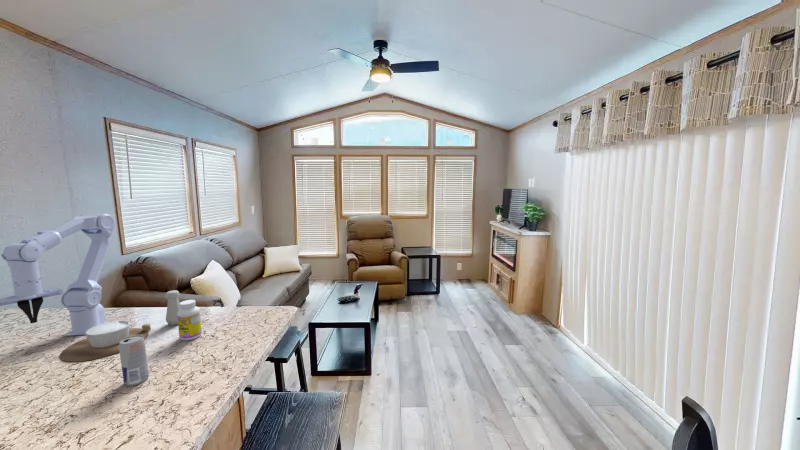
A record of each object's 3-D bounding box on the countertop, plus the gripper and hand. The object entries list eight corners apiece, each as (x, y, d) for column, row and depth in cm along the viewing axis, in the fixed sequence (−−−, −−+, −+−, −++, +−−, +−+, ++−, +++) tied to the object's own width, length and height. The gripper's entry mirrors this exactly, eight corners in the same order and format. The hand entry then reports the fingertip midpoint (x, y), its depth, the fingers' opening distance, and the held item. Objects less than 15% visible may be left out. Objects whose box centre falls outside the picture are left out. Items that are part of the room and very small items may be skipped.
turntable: (94, 331, 117) (93, 325, 117) (161, 326, 121) (160, 320, 121) (38, 365, 96) (37, 358, 96) (121, 357, 100) (120, 350, 99)
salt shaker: (175, 327, 120) (171, 294, 119) (162, 326, 121) (158, 293, 120) (188, 320, 126) (184, 289, 124) (176, 319, 127) (172, 288, 125)
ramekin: (139, 336, 112) (137, 322, 112) (101, 352, 102) (99, 337, 101) (118, 332, 116) (116, 318, 115) (79, 347, 106) (77, 331, 105)
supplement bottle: (175, 339, 111) (171, 304, 109) (193, 331, 117) (190, 297, 115) (188, 342, 109) (184, 306, 107) (206, 334, 115) (203, 299, 113)
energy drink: (133, 375, 90) (128, 335, 89) (153, 374, 91) (148, 334, 89) (118, 387, 85) (112, 344, 84) (140, 385, 86) (134, 343, 84)
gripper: (-11, 289, 92) (-3, 333, 94) (61, 277, 103) (67, 317, 105) (-11, 284, 97) (-3, 327, 98) (59, 273, 108) (65, 312, 109)
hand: (33, 322), depth 102 cm, fingers closed
